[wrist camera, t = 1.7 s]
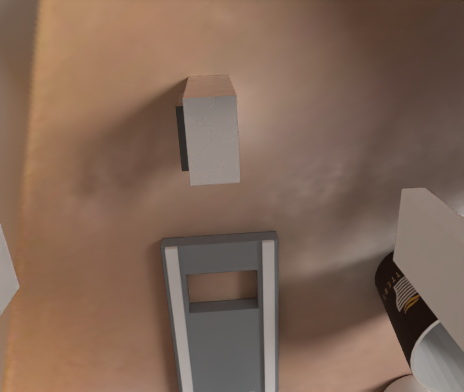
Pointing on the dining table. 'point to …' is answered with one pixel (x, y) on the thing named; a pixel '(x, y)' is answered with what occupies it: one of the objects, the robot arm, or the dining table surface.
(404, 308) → the coffee mug
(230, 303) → the rail
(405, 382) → the milk bottle
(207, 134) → the block
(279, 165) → the dining table surface
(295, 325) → the dining table surface
